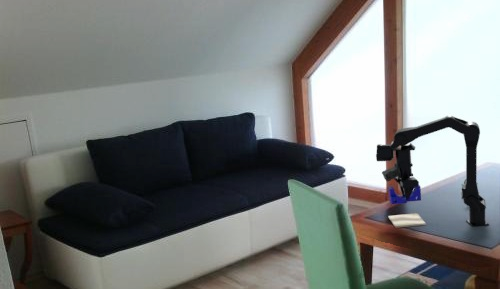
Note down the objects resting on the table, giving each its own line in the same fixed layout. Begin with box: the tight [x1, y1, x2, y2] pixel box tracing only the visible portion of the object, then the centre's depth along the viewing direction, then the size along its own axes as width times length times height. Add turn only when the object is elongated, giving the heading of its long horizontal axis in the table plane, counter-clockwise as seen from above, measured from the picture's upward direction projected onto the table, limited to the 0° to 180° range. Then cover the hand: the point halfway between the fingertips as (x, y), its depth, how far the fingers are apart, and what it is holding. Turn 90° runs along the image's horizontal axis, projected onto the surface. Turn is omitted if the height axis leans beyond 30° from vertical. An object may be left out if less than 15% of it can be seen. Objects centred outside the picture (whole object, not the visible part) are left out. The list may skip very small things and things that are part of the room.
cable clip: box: [388, 184, 422, 205], centre depth 208 cm, size 12×4×6 cm, turn 87°
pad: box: [387, 212, 427, 229], centre depth 210 cm, size 12×12×1 cm
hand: (405, 197), depth 208 cm, fingers closed on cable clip, 4 cm apart
